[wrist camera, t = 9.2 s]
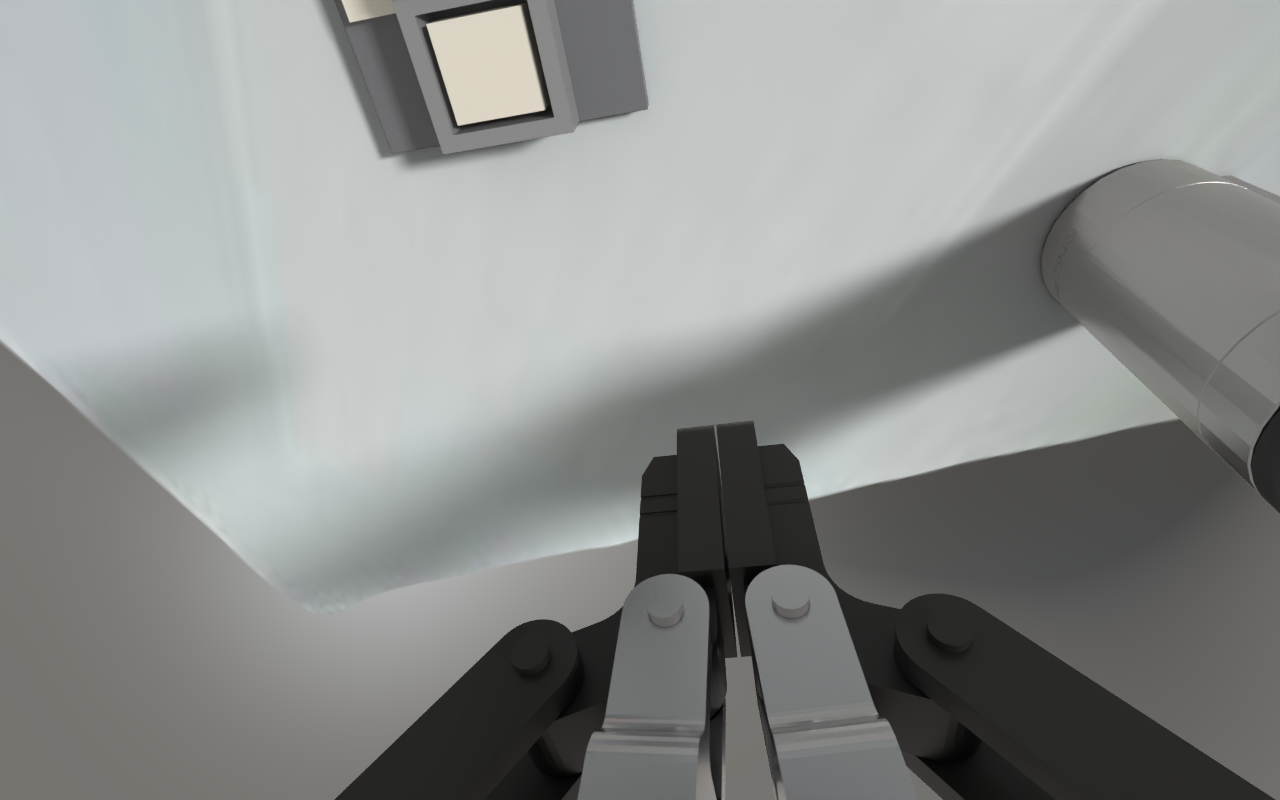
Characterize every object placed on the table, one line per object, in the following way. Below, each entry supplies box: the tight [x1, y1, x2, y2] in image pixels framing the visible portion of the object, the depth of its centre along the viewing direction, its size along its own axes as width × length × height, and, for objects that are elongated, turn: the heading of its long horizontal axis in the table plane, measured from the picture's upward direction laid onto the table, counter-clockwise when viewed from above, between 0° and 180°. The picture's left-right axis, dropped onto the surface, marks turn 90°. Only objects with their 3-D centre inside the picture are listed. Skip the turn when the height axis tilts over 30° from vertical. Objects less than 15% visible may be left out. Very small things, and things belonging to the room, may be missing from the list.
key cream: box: [426, 2, 551, 126], centre depth 31 cm, size 4×4×2 cm
